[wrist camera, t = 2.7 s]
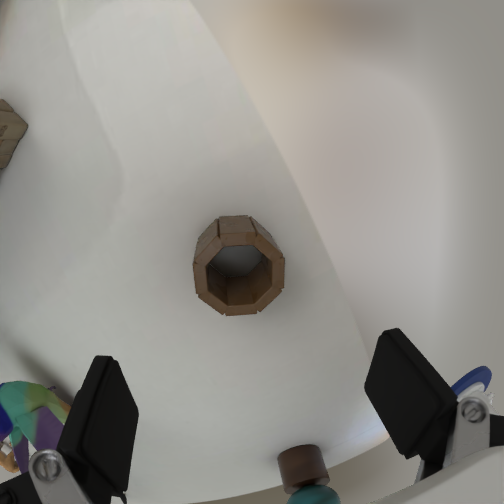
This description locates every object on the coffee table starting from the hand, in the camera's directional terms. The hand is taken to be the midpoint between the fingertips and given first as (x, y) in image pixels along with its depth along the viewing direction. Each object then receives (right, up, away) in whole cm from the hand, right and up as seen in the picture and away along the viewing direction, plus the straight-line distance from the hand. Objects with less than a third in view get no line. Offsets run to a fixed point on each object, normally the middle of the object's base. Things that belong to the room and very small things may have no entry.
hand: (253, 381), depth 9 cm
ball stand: (+7, -26, +25) cm, 36 cm away
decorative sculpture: (-24, -11, +15) cm, 31 cm away
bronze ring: (-1, +4, +13) cm, 14 cm away
